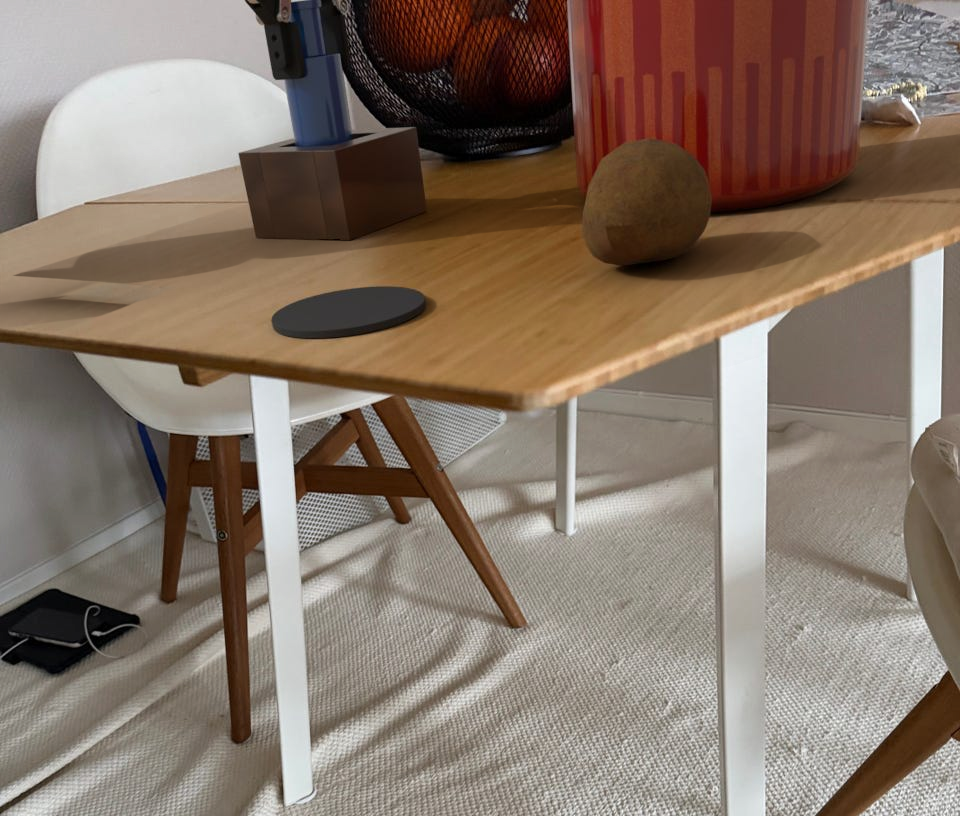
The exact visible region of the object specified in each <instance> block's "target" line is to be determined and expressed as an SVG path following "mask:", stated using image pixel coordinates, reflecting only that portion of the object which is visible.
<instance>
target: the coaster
mask: <svg viewBox="0 0 960 816" xmlns="http://www.w3.org/2000/svg"><path fill="white" fill-rule="evenodd" d="M425 307H427V300H426V296H425V295H424V293H423V292H421V291H419V290H417V289H414V288H410V287H405V286H390V285H389V286H388V285H382V286H377V285H376V286H363V287H354V288H353V287H352V288H346V289H340V290H333V291H328V292H324V293H320V294H315V295H312V296H309V297H305V298H302V299H300V300H296V301H294V302H292V303H289V304H287V305H285V306H283V307H281V308H280V309H278V310H276V312H274V314H273V315H272V316H271V319H270V320H271V325H272V328H273V330H274V331H275V332H276V333H278V334H280V335H283V336H286V337H291V338H296V339H297V338H298V339H333V338H343V337H350V336H357V335H362V334H368V333H373V332H377V331H381V330H384V329H388V328H391V327H394V326H397V325H400V324H403V323H405V322H408V321H410V320H412V319H413V318H412V317H414V318H416V317H417V316H418V315H417V314H419V313H420V314H422V313H423V312H424V311H425V309H426V308H425ZM424 308H425V309H424ZM423 310H424V311H423ZM420 314H419V315H420ZM416 315H417V316H416ZM415 316H416V317H415ZM411 318H412V319H411ZM409 319H410V320H409ZM407 320H408V321H407ZM404 321H405V322H404ZM402 322H403V323H402Z"/></svg>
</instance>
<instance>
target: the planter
mask: <svg viewBox="0 0 960 816" xmlns="http://www.w3.org/2000/svg"><path fill="white" fill-rule="evenodd" d="M869 3H870V0H566V12H567V13H566V14H567V32H568V49H569V66H570V86H571V101H572V102H571V103H572V119H573V134H574V135H573V136H574V151H575V153H574V154H575V168H576V184H577V189H578V191H579V192H580V194H582V195H583V196H584V198H586V196H587V191H588V186H589V184H590V182H591V180H592V178H593V176H594V174H595V172H596V170H597V168H598V166H599V164H600V162H601V160H602V158H604V157H605V156H607V155H608V154H609V153H611V152H612V151H614V150H615V149H616V148H618V147H619V146H621V145H622V144H624V143H625V142H631V141H637V140H643V139H649V138H652V139H657V140H661V141H665V142H670V143H674V144H677V145H678V146H680V147H681V148H683V149H684V150H685V151H687V152H688V153H690V154H692V155H694V157H695V158H696V159H697V161H698V162H699V163H700V165H701V166H702V167H703V169H704V170H705V172H706V176H707V178H708V182H709V187H710V192H711V197H712V202H711V211H710V214H713V213H715V214H716V213H725V212H736V211H744V210H751V209H758V208H764V207H769V206H776V205H781V204H785V203H790V202H794V201H798V200H801V199H806V198H809V197H811V196H814V195H817V194H820V193H822V192H824V191H827V190H828V189H831V188H832V187H834V186H836V185H837V184H839V183H840V182H842V181H843V180H845V179H846V178H847V177H848V176H849V175H851V174H852V173H853V171H854V170H855V169H856V167H857V166H858V162H859V155H860V154H859V153H860V140H861V125H862V112H863V111H862V109H863V96H864V94H863V93H864V82H865V80H864V79H865V63H866V49H867V48H866V47H867V33H868V16H869Z"/></svg>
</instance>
